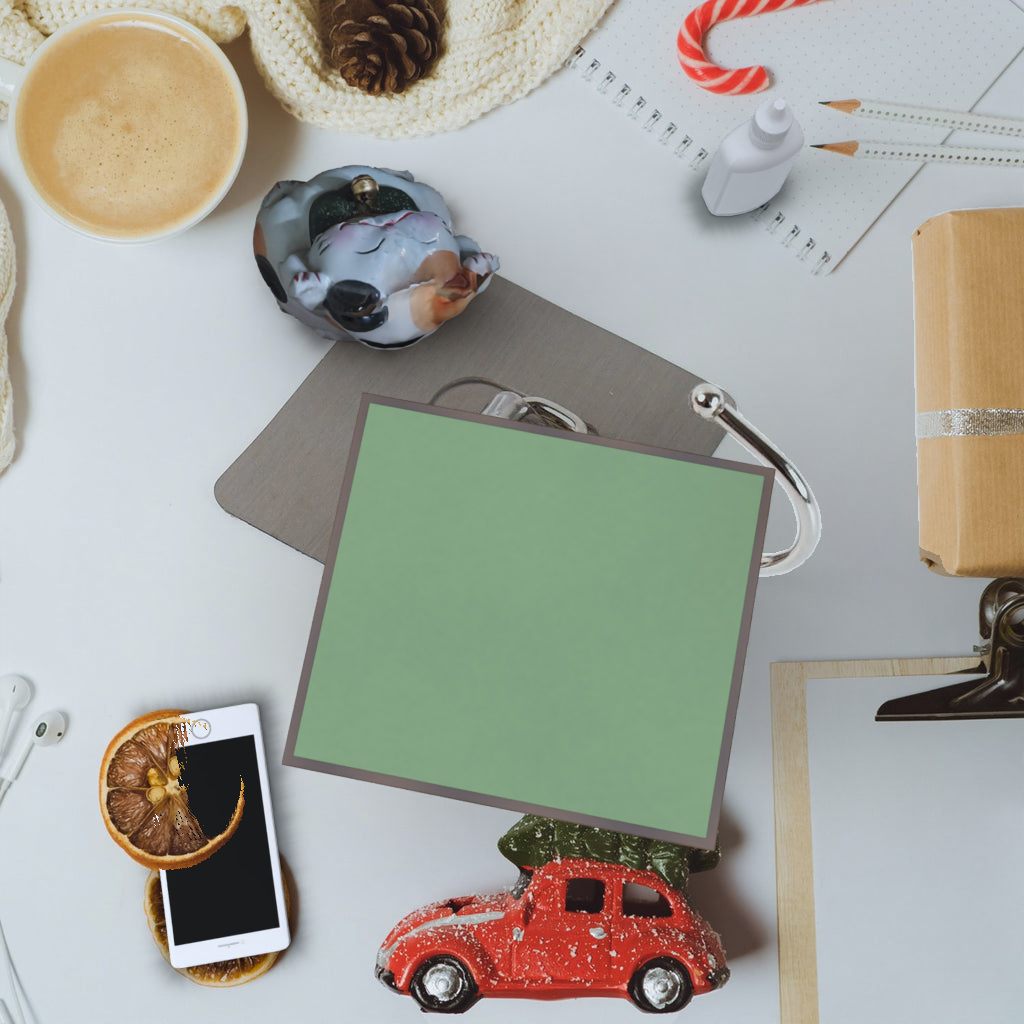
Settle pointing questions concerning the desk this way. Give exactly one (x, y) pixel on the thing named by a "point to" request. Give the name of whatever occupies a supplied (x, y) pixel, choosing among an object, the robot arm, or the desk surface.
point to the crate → (501, 802)
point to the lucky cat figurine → (367, 256)
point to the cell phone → (226, 846)
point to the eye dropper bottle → (753, 160)
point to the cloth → (533, 619)
